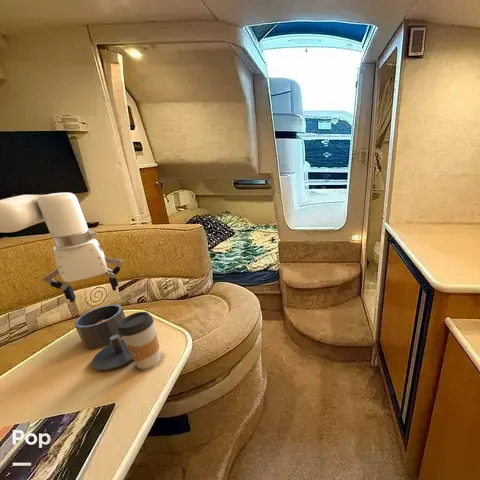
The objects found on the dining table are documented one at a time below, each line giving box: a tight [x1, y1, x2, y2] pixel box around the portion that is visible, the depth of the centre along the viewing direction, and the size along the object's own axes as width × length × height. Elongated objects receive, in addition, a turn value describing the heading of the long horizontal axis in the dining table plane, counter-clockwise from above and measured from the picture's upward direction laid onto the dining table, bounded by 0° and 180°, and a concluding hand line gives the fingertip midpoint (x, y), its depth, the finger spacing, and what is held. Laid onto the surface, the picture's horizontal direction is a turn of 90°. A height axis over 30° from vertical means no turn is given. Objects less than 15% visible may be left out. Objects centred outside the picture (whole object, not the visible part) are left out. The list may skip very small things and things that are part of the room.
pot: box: [74, 303, 126, 350], centre depth 91 cm, size 13×13×8 cm
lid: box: [91, 335, 133, 372], centre depth 82 cm, size 14×14×7 cm
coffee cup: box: [118, 311, 162, 370], centre depth 77 cm, size 8×8×15 cm
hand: (94, 294), depth 78 cm, fingers open, 9 cm apart
